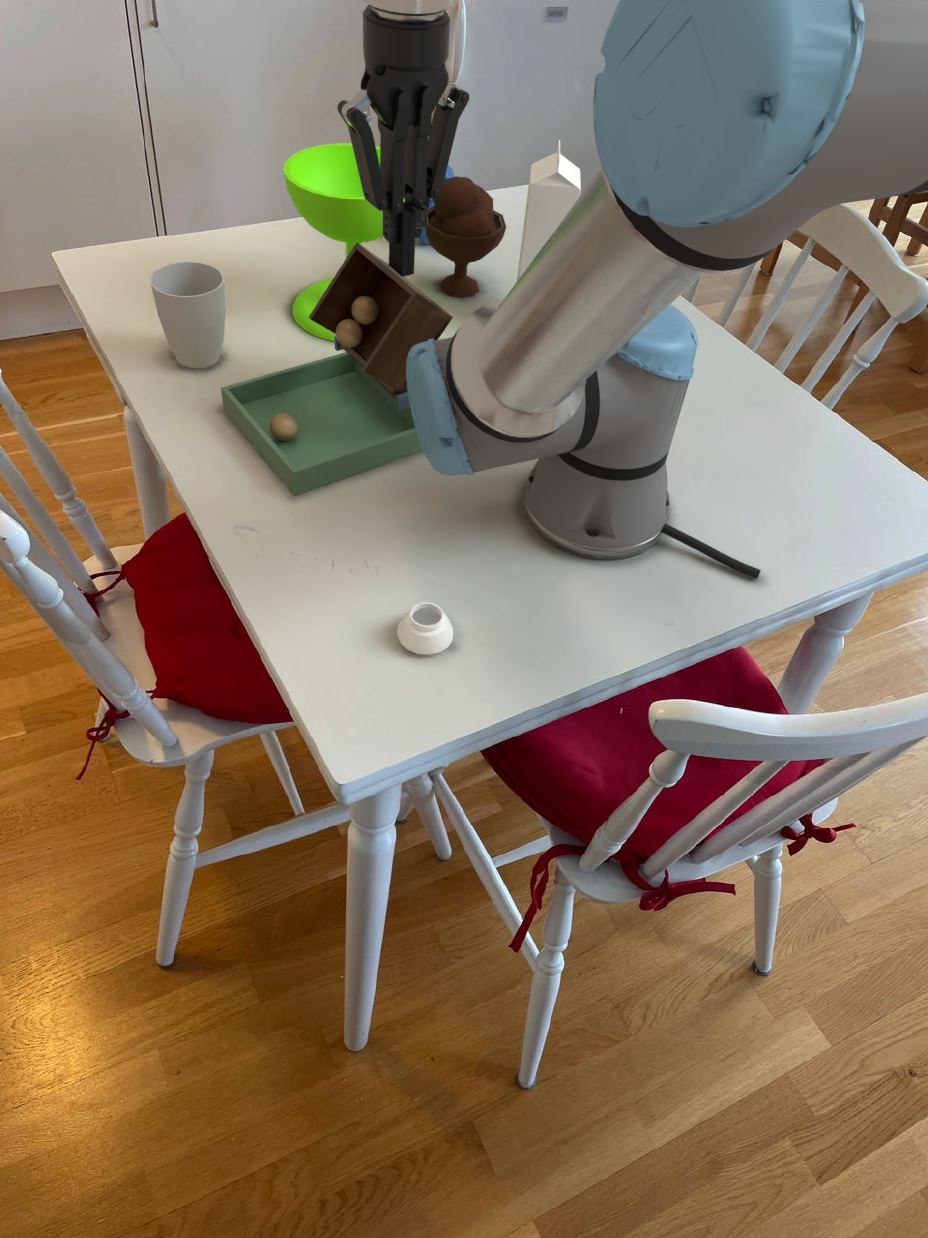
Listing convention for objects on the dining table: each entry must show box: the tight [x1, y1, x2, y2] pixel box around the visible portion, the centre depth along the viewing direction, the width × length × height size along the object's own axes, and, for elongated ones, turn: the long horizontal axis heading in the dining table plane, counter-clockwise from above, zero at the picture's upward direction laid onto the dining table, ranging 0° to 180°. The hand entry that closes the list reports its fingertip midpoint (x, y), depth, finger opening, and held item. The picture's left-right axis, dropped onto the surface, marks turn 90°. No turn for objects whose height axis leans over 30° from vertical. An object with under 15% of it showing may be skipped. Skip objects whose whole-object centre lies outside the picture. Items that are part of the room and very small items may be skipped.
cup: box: [149, 261, 227, 369], centre depth 111 cm, size 8×8×10 cm
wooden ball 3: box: [351, 296, 379, 325], centre depth 104 cm, size 3×3×3 cm
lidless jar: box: [396, 601, 454, 656], centre depth 86 cm, size 5×3×5 cm
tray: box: [220, 351, 424, 496], centre depth 106 cm, size 17×17×3 cm
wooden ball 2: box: [336, 319, 363, 348], centre depth 105 cm, size 3×3×3 cm
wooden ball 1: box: [270, 413, 298, 441], centre depth 103 cm, size 3×3×3 cm
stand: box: [334, 336, 410, 410], centre depth 109 cm, size 14×10×7 cm
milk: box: [516, 139, 582, 282], centre depth 119 cm, size 6×6×22 cm
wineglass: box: [283, 142, 405, 342], centre depth 118 cm, size 16×16×18 cm
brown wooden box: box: [309, 242, 453, 398], centre depth 102 cm, size 12×10×6 cm
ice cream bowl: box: [423, 175, 507, 299], centre depth 126 cm, size 11×11×15 cm
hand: (401, 269), depth 99 cm, fingers closed
